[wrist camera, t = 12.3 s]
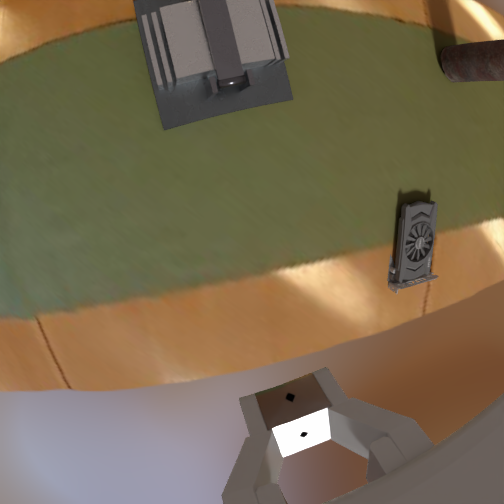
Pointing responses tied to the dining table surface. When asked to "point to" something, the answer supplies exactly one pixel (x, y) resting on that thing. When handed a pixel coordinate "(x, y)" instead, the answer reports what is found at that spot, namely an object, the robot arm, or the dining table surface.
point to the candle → (474, 61)
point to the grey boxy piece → (201, 63)
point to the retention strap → (222, 43)
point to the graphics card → (413, 246)
